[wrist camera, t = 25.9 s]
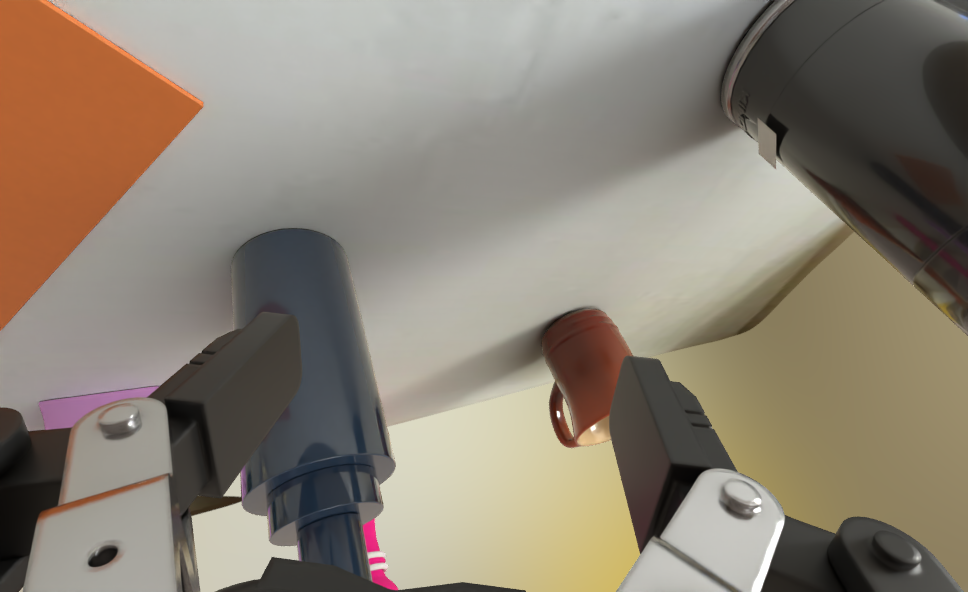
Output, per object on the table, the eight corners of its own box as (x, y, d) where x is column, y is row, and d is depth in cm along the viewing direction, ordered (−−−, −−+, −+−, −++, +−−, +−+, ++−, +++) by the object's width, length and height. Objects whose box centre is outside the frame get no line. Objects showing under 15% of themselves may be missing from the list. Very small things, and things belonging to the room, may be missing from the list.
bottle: (280, 209, 24) (347, 690, 13) (369, 258, 29) (471, 637, 18) (205, 279, 26) (209, 749, 15) (301, 313, 31) (356, 686, 20)
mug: (564, 296, 41) (621, 401, 35) (629, 300, 46) (689, 393, 40) (497, 370, 49) (536, 467, 43) (560, 367, 53) (602, 454, 48)
